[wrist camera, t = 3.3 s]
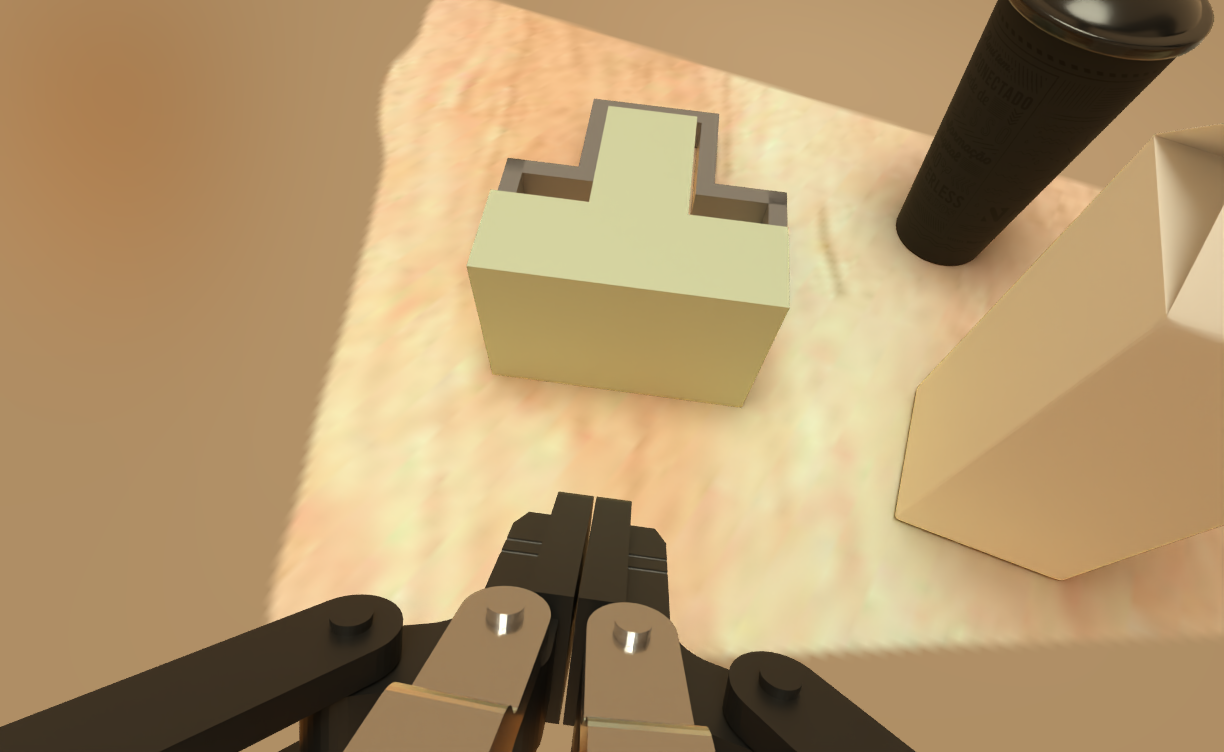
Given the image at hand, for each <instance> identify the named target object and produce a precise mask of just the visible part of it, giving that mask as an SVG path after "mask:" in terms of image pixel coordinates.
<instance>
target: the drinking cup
mask: <svg viewBox="0 0 1224 752" xmlns="http://www.w3.org/2000/svg"><path fill="white" fill-rule="evenodd" d="M1213 22H1214V14H1213V10H1212V7H1211V5H1210V3H1209V1H1208V0H998V1H997V3H996V5H995V7H994V10H993V12H992V14H991V16H990V18H989V21H988V23H987V25H986V27H985V29H984V31H983V34H982V36H981V38H980V40H979V42H978V44H977V47H976V49H975V51H974V53H973V55H972V58H971V60H970V62H969V64H968V66H967V68H966V70H965V73H964V75H963V77H962V79H961V81H960V84H959V86H958V88H957V90H956V92H955V94H954V96H953V99H952V101H951V103H950V105H949V107H948V110H947V112H946V114H945V116H944V118H943V120H942V122H941V125H940V127H939V129H938V131H937V133H936V135H935V138H934V140H933V142H932V144H931V146H930V148H929V151H928V153H927V155H926V157H925V159H924V161H923V164H922V166H921V168H920V170H919V172H918V174H917V177H916V179H915V181H914V183H913V185H912V187H911V190H910V192H909V194H908V196H907V198H906V200H905V203H904V205H903V207H902V209H901V211H900V213H899V216H898V218H897V223H896V226H897V232H898V235H899V237H900V239H901V240H902V242H903V243H904V244H905V245H906V247H907V248H908V249H909V250H911V251H912V252H913V253H915V254H916V255H918V256H919V257H921V258H923V259H925V260H927V261H930V262H933V263H936V264H941V265H951V266H952V265H961V264H964V263H967V262H969V261H971V260H973V259H974V258H975V257H976V256H977V255H978V254H979V253H980V252H981V251H982V250H983V249H984V248H985V247H986V246H987V245H988V244H989V243H990V242H991V241H992V240H993V239H994V238H995V237H996V236H997V235H998V234H999V233H1000V232H1001V231H1002V230H1003V229H1004V228H1005V227H1006V226H1007V225H1008V224H1009V223H1010V222H1011V221H1012V220H1013V219H1014V218H1015V217H1016V216H1017V215H1018V214H1019V213H1020V212H1021V211H1022V210H1023V209H1024V208H1025V207H1026V206H1027V205H1028V204H1029V203H1030V202H1031V201H1032V200H1033V199H1034V198H1035V197H1036V196H1037V195H1038V194H1039V193H1040V192H1041V191H1042V190H1043V189H1044V188H1046V187H1047V186H1048V185H1049V184H1050V183H1051V182H1052V181H1053V180H1054V179H1055V178H1056V177H1057V176H1058V175H1059V174H1060V173H1061V171H1063V170H1064V169H1065V168H1066V167H1067V166H1068V165H1069V164H1070V162H1072V161H1073V159H1075V157H1077V156H1078V155H1079V154H1080V153H1081V152H1082V151H1083V150H1084V149H1085V148H1086V147H1087V146H1088V145H1089V144H1090V143H1091V141H1092V140H1094V138H1096V137H1097V136H1098V135H1099V134H1100V133H1101V131H1103V130H1104V129H1105V128H1106V127H1107V126H1108V125H1109V124H1110V123H1111V122H1112V121H1113V120H1114V119H1115V118H1116V117H1117V116H1118V115H1119V114H1120V113H1121V112H1122V111H1123V110H1124V109H1125V108H1126V107H1127V106H1128V105H1129V104H1130V103H1131V102H1132V101H1133V100H1134V99H1135V98H1136V97H1137V96H1138V95H1139V94H1140V93H1141V92H1142V91H1143V90H1144V89H1145V88H1146V87H1147V86H1148V85H1149V84H1150V83H1151V82H1152V81H1153V80H1154V79H1155V78H1156V77H1157V76H1158V75H1159V74H1160V73H1161V72H1162V71H1163V70H1164V69H1165V68H1166V67H1167V66H1168V65H1169V64H1170V63H1171V62H1172V61H1173V60H1174V59H1175V58H1176V57H1177V56H1181V55H1183V54H1186V53H1187V52H1189V51H1191V50H1192V49H1194V48H1195V47H1197V46H1198V45H1199V44H1200V43H1201V42H1202V41H1203V40H1204V39H1205V37H1206V36H1207V35H1208V34H1209V32H1210V30H1211V28H1212V26H1213Z"/></svg>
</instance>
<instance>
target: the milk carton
mask: <svg viewBox="0 0 1224 752" xmlns="http://www.w3.org/2000/svg"><path fill="white" fill-rule="evenodd" d="M895 516H896V518H897V519H899V520H901V521H903V522H906V523H908V524H911V525H913V526H916V527H919V528H921V529H924V530H927V531H929V532H932V533H935V534H937V535H940V536H942V537H945V538H948V539H950V540H953V541H956V542H958V543H961V544H964V545H966V546H969V547H972V548H974V549H977V550H979V551H982V552H985V553H987V554H990V555H993V556H995V557H998V558H1001V559H1003V560H1006V561H1009V562H1011V563H1014V564H1017V565H1019V566H1022V567H1024V568H1027V569H1030V570H1032V571H1035V572H1038V573H1040V574H1043V575H1046V576H1048V577H1051V578H1054V579H1057V580H1065V579H1068V578H1071V577H1074V576H1077V575H1080V574H1083V573H1086V572H1088V571H1091V570H1094V569H1097V568H1100V567H1103V566H1106V565H1109V564H1112V563H1115V562H1118V561H1121V560H1123V559H1126V558H1129V557H1132V556H1135V555H1138V554H1141V553H1144V552H1147V551H1150V550H1153V549H1156V548H1158V547H1161V546H1164V545H1167V544H1170V543H1173V542H1176V541H1179V540H1182V539H1185V538H1188V537H1191V536H1193V535H1196V534H1199V533H1202V532H1205V531H1208V530H1211V529H1214V528H1217V527H1220V526H1223V525H1224V123H1222V124H1216V125H1209V126H1204V127H1196V128H1190V129H1184V130H1177V131H1171V132H1164V133H1158V134H1154V135H1153V137H1152V139H1150V140H1149V141H1148V142H1147V144H1146V145H1145V146H1144V147H1143V148H1142V149H1141V150H1140V151H1139V152H1138V153H1137V154H1136V155H1135V156H1134V158H1133V159H1131V161H1130V162H1129V163H1128V164H1127V165H1126V166H1125V167H1124V168H1123V169H1122V170H1121V171H1120V172H1119V174H1117V175H1116V176H1115V178H1114V179H1113V180H1112V181H1111V182H1110V183H1109V184H1108V185H1107V186H1106V187H1105V188H1104V189H1103V190H1102V191H1101V192H1100V194H1099V195H1098V196H1097V197H1096V198H1095V199H1094V200H1093V201H1092V202H1091V203H1090V204H1089V205H1088V206H1087V207H1086V208H1085V209H1084V211H1083V212H1082V213H1081V214H1080V215H1079V216H1078V217H1077V218H1076V219H1075V220H1074V221H1073V222H1072V223H1071V224H1070V225H1069V226H1068V228H1067V229H1066V230H1065V231H1064V232H1063V233H1062V234H1061V235H1060V236H1059V237H1058V238H1057V239H1056V240H1055V241H1054V242H1053V243H1052V245H1051V246H1050V247H1049V248H1048V249H1047V250H1046V251H1045V252H1044V253H1043V254H1042V255H1041V256H1040V257H1039V258H1038V259H1037V260H1036V262H1035V263H1034V264H1033V265H1032V266H1031V267H1030V268H1029V269H1028V270H1027V271H1026V272H1025V273H1024V274H1023V275H1022V276H1021V277H1020V279H1019V280H1018V281H1017V282H1016V283H1015V284H1014V285H1013V286H1012V287H1011V288H1010V289H1009V290H1008V291H1007V292H1006V293H1005V294H1004V296H1003V297H1002V298H1001V299H1000V300H999V301H998V302H997V303H996V304H995V305H994V306H993V307H992V308H991V309H990V310H989V311H988V313H987V314H986V315H985V316H984V317H983V318H982V319H981V320H980V321H979V322H978V323H977V324H976V325H975V326H974V327H973V328H972V330H971V331H970V332H969V333H968V334H967V335H966V336H965V337H964V338H963V339H962V340H961V341H960V342H959V343H958V344H957V345H956V347H955V348H954V349H953V350H952V351H951V352H950V353H949V354H948V355H947V356H946V357H945V358H944V359H943V360H942V361H941V362H940V364H939V365H938V366H937V367H936V368H935V369H934V370H933V371H932V372H931V373H930V374H929V375H928V376H927V377H926V378H925V380H924V381H923V382H922V383H921V384H920V385H919V386H918V387H917V391H916V397H915V402H914V408H913V414H912V420H911V425H910V431H909V437H908V443H907V449H906V454H905V460H904V466H903V472H902V477H901V483H900V489H899V495H898V501H897V506H896V512H895Z"/></svg>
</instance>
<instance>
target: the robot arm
mask: <svg viewBox="0 0 1224 752" xmlns="http://www.w3.org/2000/svg"><path fill="white" fill-rule="evenodd" d="M593 500H594V496H587V495H580V494H572V493H565V492H558V495H557V498H556V501H555V504H554V507H553V510H552V513H551V515H548V514H541V513H534V512H528V513H527V514H526V515H524V516H523V517H521V518H520V519H518V520H517V521H515V522H514V523H513V525H512V527H511V530H510V532H509V534H508V537H507V540H506V541H505V543H504V546H503V548H502V552H501V553H500V555H499V557H498V559H497V562H496V564H495V566H494V569H493V571H492V573H491V575H490V578H489V580H488V582H487V585H486V587H485V589H482V590H480V591H477V592H475V593H473V594H472V595H470V596H469V597H468V598H466V599H465V600H464V602H463V603H462V604H461V606H460V607H459V609H458V611H457V612H456V614H455V616H454V617H453V619H450V620H447V621H442V622H437V623H429V624H417V625H404V626H403V616H402V612H401V610H400V609H399V608H398V606H397V605H396V604H394V603H393V602H391V601H389V600H387V599H385V598H382V597H379V596H373V595H349V596H343V597H339V598H335V599H332V600H329V601H326V602H324V603H321V604H319V605H316V606H313V607H311V608H308V609H306V610H303V611H300V612H298V613H295V614H293V615H290V616H287V617H285V618H282V619H280V620H277V621H274V622H272V623H269V624H267V625H264V626H261V627H259V628H256V629H254V630H251V631H248V632H246V633H243V634H241V635H238V636H236V637H233V638H230V639H228V640H225V641H223V642H220V643H218V644H215V645H212V646H210V647H207V648H205V649H202V650H199V651H197V652H194V653H191V654H189V655H186V656H184V657H181V658H178V659H176V660H173V661H171V662H168V663H165V664H163V665H160V666H158V667H155V668H152V669H150V670H147V671H145V672H142V673H140V674H137V675H134V676H132V677H129V678H126V679H124V680H121V681H119V682H116V683H113V684H111V685H108V686H106V687H103V688H101V689H98V690H96V691H93V692H90V693H88V694H85V695H82V696H80V697H77V698H75V699H72V700H70V701H67V702H64V703H62V704H59V705H57V706H54V707H51V708H49V709H46V710H43V711H41V712H38V713H36V714H33V715H30V716H28V717H25V718H23V719H20V720H18V721H15V722H12V723H10V724H7V725H5V726H2V727H0V752H239V751H241V750H243V749H245V748H247V747H249V746H251V745H253V744H255V743H257V742H259V741H261V740H263V739H265V738H266V737H268V736H270V735H272V734H274V733H276V732H278V731H280V730H282V729H284V728H286V727H288V726H290V725H292V724H294V723H296V722H298V721H299V739H300V740H299V741H297V742H296V743H294V744H292V745H290V746H288V747H286V748H284V749H282V750H281V751H279V752H536V750H537V748H538V747H539V745H540V742H541V738H542V734H543V730H544V725H545V722H548V723H555V724H559V720H560V714H561V709H562V703H563V697H564V692H565V686H566V680H567V675H568V669H569V663H570V670H569V679H568V688H567V696H566V704H565V713H564V720H563V724H564V725H571V726H574V732H573V739H572V748H571V752H915V751H914V750H913V749H911V748H910V747H909V746H907V745H906V744H905V743H904V742H902V741H901V740H900V739H899V738H897V737H896V736H895V735H894V734H892V733H891V732H890V731H888V730H887V729H886V728H885V727H883V726H882V725H881V724H879V723H878V722H877V721H876V720H874V719H873V718H872V717H871V716H869V715H868V714H867V713H865V712H864V711H863V710H862V709H860V708H859V707H858V706H857V705H855V704H854V703H852V702H851V701H850V700H849V699H848V698H846V697H845V696H843V695H842V694H841V693H840V692H839V691H837V690H836V689H835V688H834V687H832V686H831V685H830V684H828V683H827V682H826V681H824V680H823V679H822V678H821V677H819V676H818V675H817V674H816V673H814V672H813V671H812V670H810V669H809V668H808V667H806V666H805V665H803V664H801V663H800V662H798V661H796V660H794V659H792V658H789V657H787V656H784V655H781V654H777V653H772V652H764V651H760V652H750V653H746V654H743V655H741V656H739V657H738V658H737V659H735V660H734V661H733V663H732V664H731V666H730V670H728V669H726V668H723V667H721V666H718V665H715V664H713V663H710V662H708V661H705V660H703V659H701V658H699V657H697V656H696V655H694V654H693V653H691V652H690V651H688V650H687V649H686V648H685V647H684V646H682V645H681V643H680V642H679V639H678V634H677V630H676V628H675V626H674V625H673V623H672V622H671V621H670V611H669V592H668V575H667V562H666V561H667V555H666V543H665V542H664V540H663V539H662V538H661V536H660V535H659V534H658V532H657V531H656V530H655V529H653V528H645V527H638V526H630V522H631V505H632V501H625V500H618V499H610V498H603V497H597V498H596V503H595V509H594V514H593V520H592V525H591V518H592V509H593ZM590 526H591V531H590ZM589 534H590V536H589ZM571 652H572V654H571ZM570 658H571V662H570Z"/></svg>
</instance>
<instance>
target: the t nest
mask: <svg viewBox="0 0 1224 752" xmlns="http://www.w3.org/2000/svg"><path fill="white" fill-rule="evenodd" d="M608 106H614V107H622V108H631V109H639V110H647V111H655V112H663V113H672V114H680V115H688V116H696V117H697V125H696V136H695V146H694V147H697V151H696V162H695V174H694V185H693V196H692V208H691V215H697V216H704V217H712V218H720V219H728V220H736V221H744V222H752V223H760V224H768V225H776V226H784V227H787V193H785V192H777V191H769V190H761V189H753V188H745V187H737V186H729V185H721V184H715V170H716V155H717V139H718V124H719V114H715V113H707V112H699V111H691V110H682V109H674V108H666V107H658V106H650V105H641V104H633V103H625V102H617V101H609V100H600V99H594V101H593V106H592V110H591V115H590V119H589V123H588V128H587V132H586V137H585V141H584V146H583V150H582V155H581V159H580V164H579V167H577V166H569V165H561V164H553V163H545V162H537V161H529V160H521V159H513V158H508V159H507V162H506V166H505V169H504V172H503V175H502V178H501V182H500V185H499V188H498V191H506V192H514V193H522V194H530V195H538V196H546V197H554V198H562V199H570V200H578V201H585V202H589V200H590V195H591V190H592V185H593V180H594V175H595V170H596V165H597V160H598V155H599V150H600V145H601V140H602V136H603V131H604V126H605V121H606V116H607V111H608Z"/></svg>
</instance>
